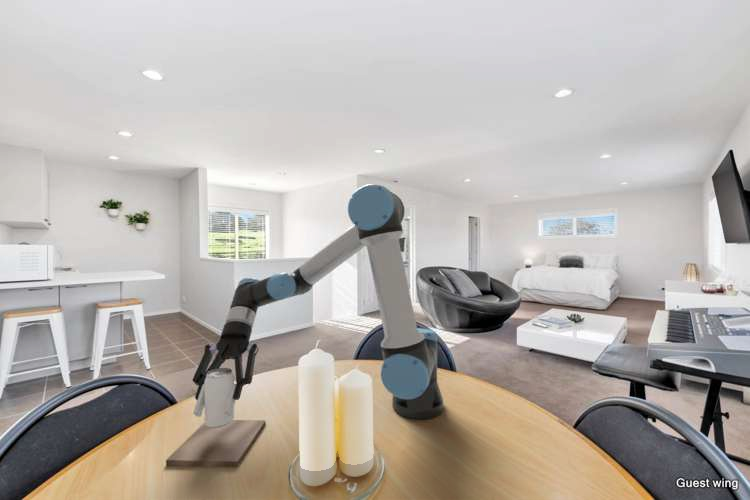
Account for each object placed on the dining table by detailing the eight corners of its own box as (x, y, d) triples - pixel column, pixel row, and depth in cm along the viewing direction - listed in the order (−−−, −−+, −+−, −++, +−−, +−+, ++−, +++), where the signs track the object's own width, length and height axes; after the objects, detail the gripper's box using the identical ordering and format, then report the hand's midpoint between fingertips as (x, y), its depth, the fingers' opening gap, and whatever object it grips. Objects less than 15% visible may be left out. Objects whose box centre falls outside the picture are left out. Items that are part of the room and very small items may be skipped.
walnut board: (265, 424, 84) (265, 420, 84) (237, 466, 68) (237, 461, 68) (207, 423, 85) (207, 419, 85) (166, 465, 69) (165, 460, 69)
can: (239, 417, 78) (239, 369, 78) (217, 431, 72) (216, 380, 72) (221, 411, 81) (221, 365, 81) (198, 424, 75) (198, 375, 75)
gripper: (275, 332, 92) (258, 418, 76) (208, 333, 91) (176, 420, 75) (270, 319, 87) (250, 408, 71) (198, 319, 86) (162, 410, 70)
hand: (212, 414), depth 73 cm, fingers closed on can, 6 cm apart
